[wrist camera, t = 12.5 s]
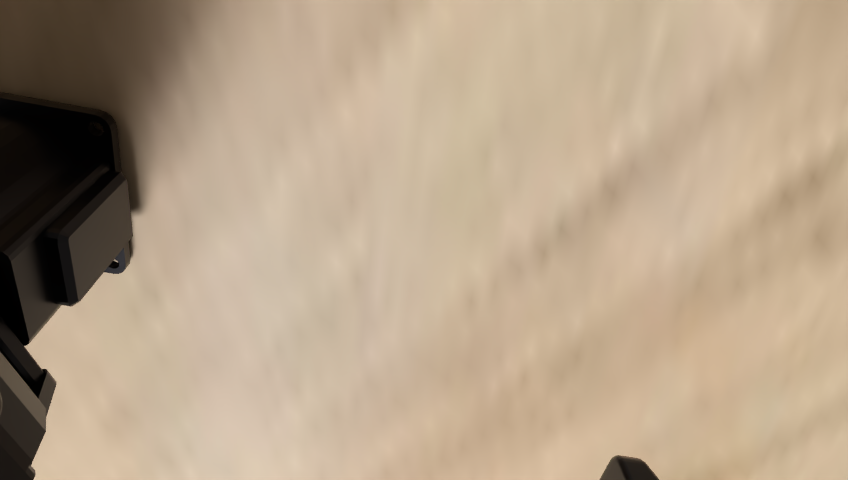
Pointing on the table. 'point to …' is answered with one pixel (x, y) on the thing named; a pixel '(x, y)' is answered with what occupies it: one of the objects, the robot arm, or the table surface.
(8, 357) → the robot arm
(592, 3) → the table surface
